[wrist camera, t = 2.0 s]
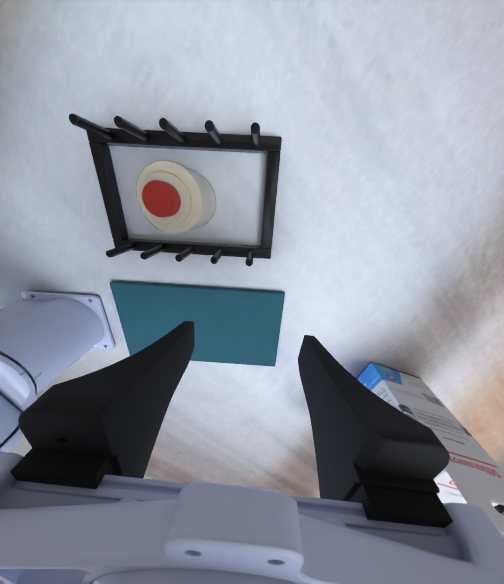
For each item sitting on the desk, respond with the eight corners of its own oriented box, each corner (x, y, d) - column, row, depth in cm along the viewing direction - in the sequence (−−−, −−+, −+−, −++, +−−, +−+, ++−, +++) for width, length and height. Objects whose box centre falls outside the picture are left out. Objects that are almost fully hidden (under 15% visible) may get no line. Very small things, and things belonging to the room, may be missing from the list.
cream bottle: (170, 225, 20) (130, 235, 14) (163, 169, 18) (113, 153, 12) (216, 227, 20) (197, 239, 14) (215, 172, 18) (192, 157, 12)
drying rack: (121, 247, 21) (87, 258, 17) (94, 130, 17) (40, 107, 13) (270, 256, 21) (272, 269, 17) (280, 139, 16) (287, 119, 12)
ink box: (349, 384, 28) (429, 551, 15) (370, 360, 26) (485, 528, 13) (399, 401, 29) (517, 570, 16) (423, 379, 27) (582, 552, 14)
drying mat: (132, 353, 27) (130, 356, 27) (112, 280, 23) (109, 282, 22) (274, 363, 27) (274, 366, 26) (284, 291, 22) (284, 293, 22)
